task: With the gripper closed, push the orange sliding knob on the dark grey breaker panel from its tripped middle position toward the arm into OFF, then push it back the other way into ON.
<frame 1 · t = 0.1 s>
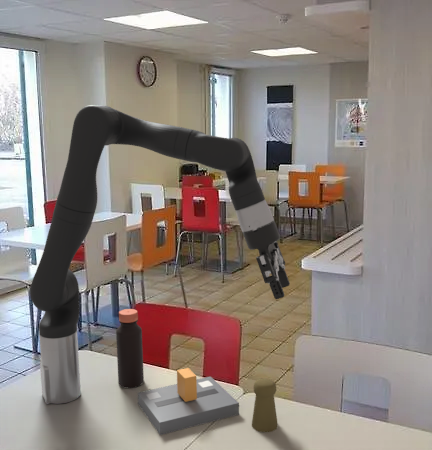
hand: (283, 292, 127), 31 cm above the table, tool tilted 20°, fingers open, 8 cm apart
breaker panel: (187, 409, 139), on the table
olive pawn: (264, 426, 131), on the table
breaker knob: (186, 384, 138), point 6 cm above the table, slide at 0.0 cm
bottle: (131, 383, 153), on the table
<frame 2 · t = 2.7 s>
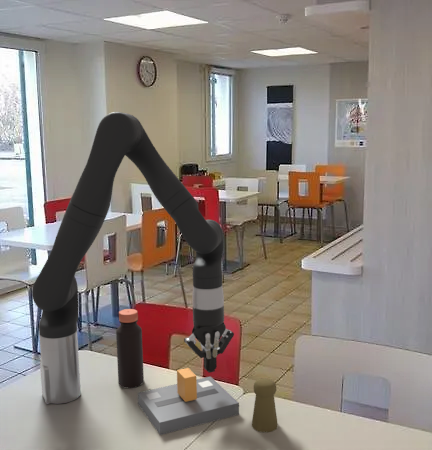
hand: (210, 371, 140), 9 cm above the table, tool pointing down, fingers closed
nothing on the table moved.
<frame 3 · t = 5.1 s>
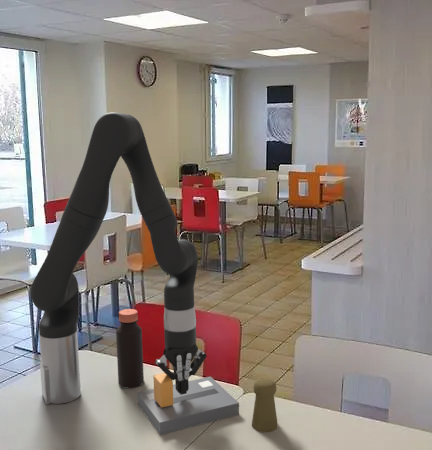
hand: (182, 392, 138), 5 cm above the table, tool pointing down, fingers closed
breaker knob: (163, 389, 135), point 6 cm above the table, slide at -6.0 cm, touching hand
everything else where it was.
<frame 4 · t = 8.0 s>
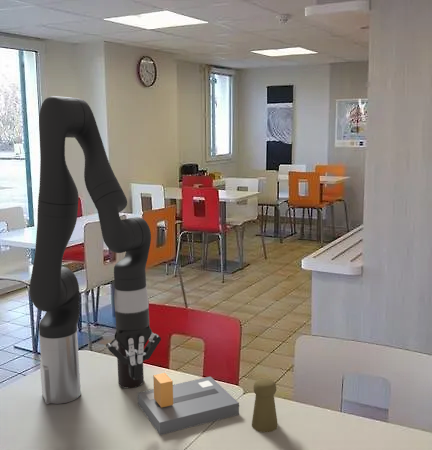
hand: (135, 378, 131), 11 cm above the table, tool pointing down, fingers closed
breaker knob: (163, 389, 135), point 6 cm above the table, slide at -6.1 cm
everything else where it was.
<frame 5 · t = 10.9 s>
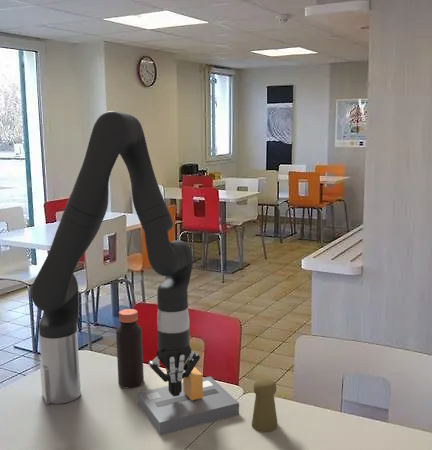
hand: (175, 394, 137), 5 cm above the table, tool pointing down, fingers closed
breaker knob: (192, 383, 138), point 6 cm above the table, slide at 1.6 cm, touching hand
everything else where it was.
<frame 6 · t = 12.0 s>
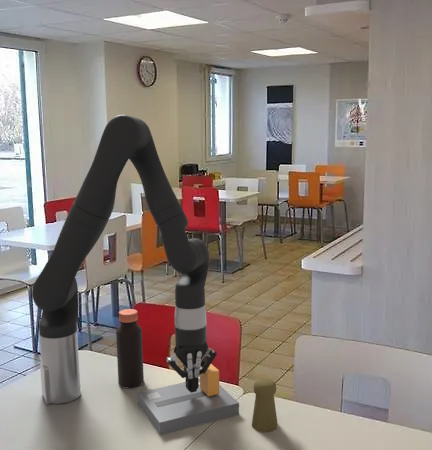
hand: (192, 390, 138), 5 cm above the table, tool pointing down, fingers closed
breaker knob: (209, 379, 140), point 6 cm above the table, slide at 6.0 cm, touching hand
everything else where it was.
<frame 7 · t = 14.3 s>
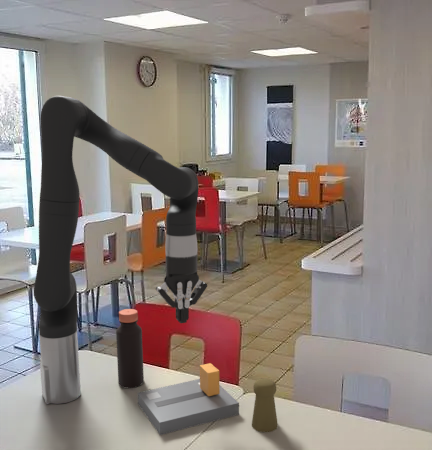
hand: (182, 322, 138), 21 cm above the table, tool pointing down, fingers closed
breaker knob: (209, 379, 140), point 6 cm above the table, slide at 6.1 cm
everything else where it was.
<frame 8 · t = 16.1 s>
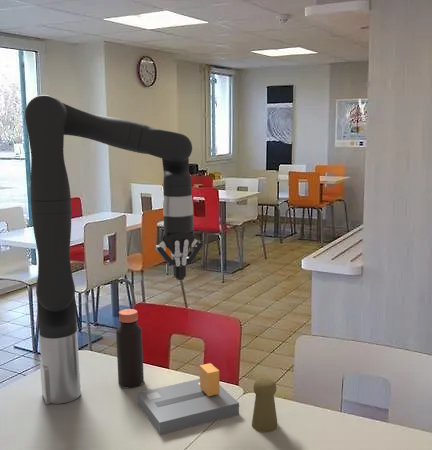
hand: (179, 279, 147), 29 cm above the table, tool pointing down, fingers closed
nothing on the table moved.
at the end: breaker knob slide at 6.1 cm; olive pawn moved 0.2 cm from its start; bottle moved 0.2 cm from its start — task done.
